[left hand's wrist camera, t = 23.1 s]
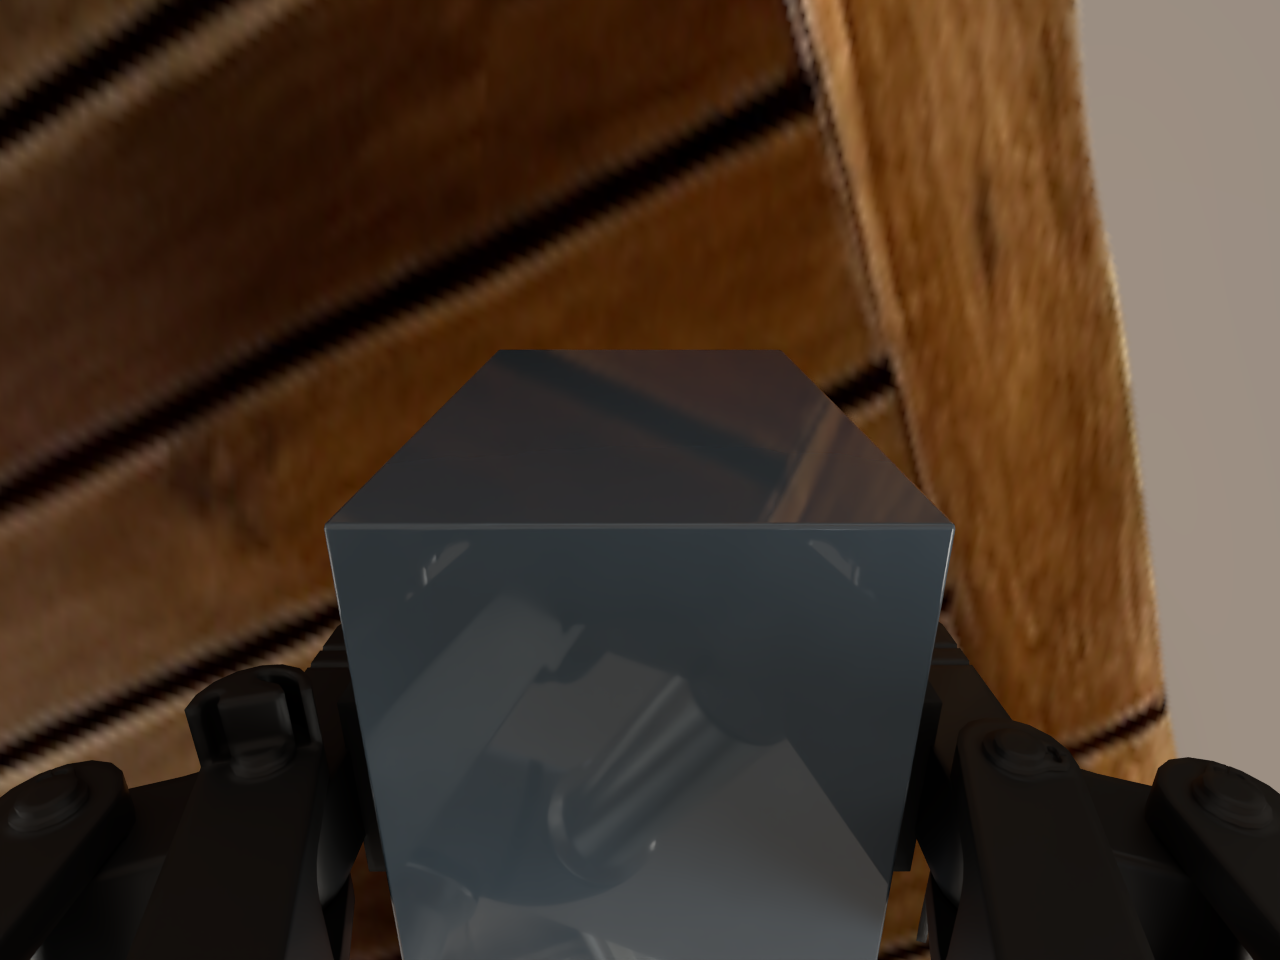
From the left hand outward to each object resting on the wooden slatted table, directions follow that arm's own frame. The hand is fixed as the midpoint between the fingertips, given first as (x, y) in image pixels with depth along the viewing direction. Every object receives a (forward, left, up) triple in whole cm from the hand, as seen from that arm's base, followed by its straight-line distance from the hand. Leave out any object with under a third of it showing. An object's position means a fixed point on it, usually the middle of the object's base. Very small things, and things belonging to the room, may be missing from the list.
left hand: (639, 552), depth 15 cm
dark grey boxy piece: (0, 0, -1) cm, 1 cm away
